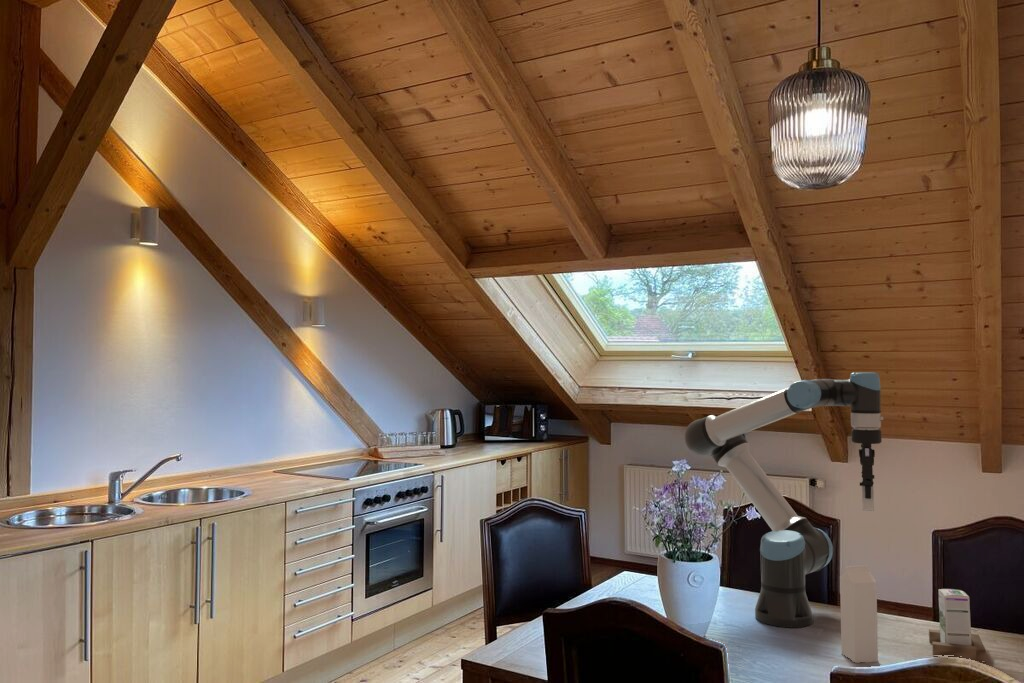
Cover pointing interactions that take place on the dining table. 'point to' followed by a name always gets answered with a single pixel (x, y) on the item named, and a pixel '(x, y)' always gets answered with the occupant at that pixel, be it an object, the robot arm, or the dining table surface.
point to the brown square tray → (958, 647)
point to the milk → (859, 615)
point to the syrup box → (954, 617)
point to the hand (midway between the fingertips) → (867, 506)
